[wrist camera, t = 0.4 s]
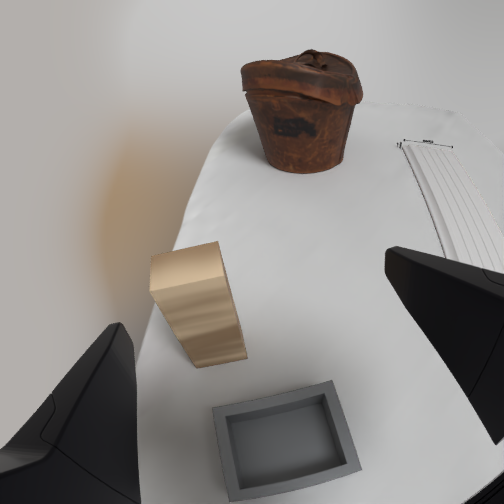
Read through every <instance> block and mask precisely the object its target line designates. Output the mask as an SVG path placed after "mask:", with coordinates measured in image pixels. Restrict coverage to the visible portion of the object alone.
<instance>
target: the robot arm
mask: <svg viewBox="0 0 504 504" xmlns="http://www.w3.org/2000/svg"><path fill="white" fill-rule="evenodd" d="M385 274H386V277H387V278H388V280H389V282H390V283H391V285H392V286H393V288H394V290H395V291H396V293H397V295H398V296H399V298H400V300H401V301H402V303H403V304H404V306H405V308H406V309H407V310H408V312H409V313H410V315H411V316H412V317H413V319H414V320H415V321H416V323H417V324H418V325H419V327H420V328H421V330H422V331H423V332H424V334H425V335H426V337H427V338H428V339H429V341H430V342H431V344H432V345H433V347H434V348H435V349H436V351H437V352H438V354H439V355H440V357H441V358H442V360H443V361H444V363H445V364H446V366H447V367H448V368H449V370H450V372H451V373H452V375H453V376H454V378H455V379H456V381H457V382H458V384H459V385H460V387H461V388H462V390H463V392H464V393H465V395H466V396H467V398H468V400H469V401H470V403H471V405H472V406H473V408H474V410H475V411H476V413H477V415H478V416H479V418H480V420H481V421H482V423H483V425H484V427H485V428H486V430H487V432H488V434H489V435H490V437H491V439H492V441H493V442H494V444H495V445H497V444H498V443H500V442H501V441H502V440H503V439H504V274H503V273H499V272H495V271H491V270H488V269H484V268H480V267H477V266H473V265H469V264H466V263H462V262H458V261H454V260H450V259H447V258H443V257H439V256H435V255H431V254H427V253H423V252H419V251H415V250H411V249H407V248H403V247H399V246H395V247H392V248H389V249H387V250H386V252H385ZM134 359H135V358H134V347H133V342H132V340H131V338H130V336H129V334H128V333H127V331H126V330H125V327H124V326H123V324H122V323H120V322H118V323H113V324H110V325H108V327H107V328H106V329H105V330H104V331H103V332H102V334H101V335H100V336H99V337H98V338H97V339H96V340H95V342H93V344H92V345H91V346H90V347H89V348H88V349H87V351H86V352H85V353H84V354H83V355H82V356H81V358H80V359H79V360H78V361H77V362H76V363H75V365H74V366H73V367H72V368H71V369H70V371H69V372H68V373H67V374H66V375H65V377H64V378H63V379H62V380H61V381H60V383H59V384H58V385H57V386H56V387H55V389H54V390H53V391H52V394H50V395H49V396H48V397H47V399H46V400H45V401H44V402H43V403H42V405H41V406H40V407H39V408H38V409H37V411H36V412H35V413H34V414H33V415H32V416H31V417H30V418H29V420H28V421H27V422H26V423H25V424H24V425H23V426H22V427H21V428H20V430H19V431H18V432H17V433H16V434H15V435H14V436H13V437H12V438H11V440H10V441H9V442H8V443H7V444H6V445H5V446H4V447H3V448H1V449H0V504H141V496H140V484H139V470H138V450H137V382H136V371H135V360H134ZM462 504H504V470H503V471H502V472H501V473H500V474H499V475H498V476H497V477H495V478H494V479H493V480H492V481H491V482H489V483H488V484H487V485H486V486H484V487H483V488H482V489H481V490H479V491H478V492H477V493H475V494H474V495H473V496H471V497H470V498H469V499H467V500H466V501H465V502H463V503H462Z"/></svg>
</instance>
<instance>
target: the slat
mask: <svg viewBox="0 0 504 504" xmlns="http://www.w3.org/2000/svg"><path fill="white" fill-rule="evenodd" d="M150 293H151V295H152V296H153V298H154V300H155V302H156V303H157V305H158V307H159V309H160V310H161V312H162V314H163V315H164V317H165V319H166V320H167V322H168V324H169V325H170V327H171V329H172V330H173V332H174V334H175V335H176V337H177V338H178V340H179V342H180V343H181V345H182V346H183V348H184V350H185V351H186V353H187V354H188V356H189V357H190V359H191V360H192V362H193V363H194V365H195V366H196V368H202V367H208V366H213V365H218V364H224V363H229V362H234V361H238V360H243V359H248V358H247V353H246V348H245V344H244V339H243V334H242V330H241V326H240V322H239V319H238V315H237V311H236V308H235V304H234V300H233V297H232V293H231V289H230V285H229V282H228V278H227V274H226V270H225V267H224V263H223V259H222V255H221V251H220V247H219V243H218V241H216V242H212V243H207V244H203V245H198V246H194V247H189V248H185V249H180V250H176V251H171V252H167V253H163V254H158V255H154V256H151V272H150Z"/></svg>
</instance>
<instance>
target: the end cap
mask: <svg viewBox="0 0 504 504" xmlns="http://www.w3.org/2000/svg"><path fill="white" fill-rule="evenodd" d="M212 410H213V416H214V422H215V428H216V434H217V440H218V446H219V451H220V457H221V462H222V468H223V473H224V478H225V483H226V488H227V493H228V498H229V502H234V501H241V500H248V499H254V498H260V497H265V496H271V495H276V494H280V493H285V492H289V491H294V490H298V489H302V488H306V487H310V486H313V485H317V484H320V483H324V482H327V481H331V480H334V479H337V478H340V477H343V476H346V475H349V474H352V473H355V472H358V471H360V470H362V468H361V465H360V462H359V458H358V455H357V452H356V449H355V446H354V443H353V440H352V437H351V434H350V431H349V428H348V425H347V422H346V419H345V416H344V413H343V410H342V407H341V404H340V401H339V398H338V395H337V393H336V390H335V387H334V384H333V381H332V380H330V381H327V382H324V383H320V384H317V385H313V386H309V387H306V388H302V389H298V390H295V391H291V392H287V393H283V394H278V395H274V396H270V397H266V398H261V399H256V400H252V401H247V402H242V403H237V404H231V405H226V406H220V407H214V408H212Z"/></svg>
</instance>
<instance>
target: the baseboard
mask: <svg viewBox="0 0 504 504" xmlns="http://www.w3.org/2000/svg"><path fill="white" fill-rule="evenodd" d="M404 141H405V139H404ZM406 141H409V140H406ZM424 141H427V140H423V142H421V143H424ZM414 142H417V141H414ZM427 142H430V143H429V144H431V141H430V140H429V141H427ZM432 143H433V141H432ZM401 144H402V142H400V146H401ZM435 145H437V144H435ZM397 146H398V143H397ZM442 146H444V145H442ZM448 147H450V146H448ZM452 148H453V146H452ZM402 149H403V151H404V153H405V155H406V157H407V159H408V161H409V164H410V166H411V168H412V170H413V172H414V175H415V177H416V179H417V182H418V184H419V186H420V189H421V191H422V193H423V196H424V198H425V201H426V203H427V206H428V209H429V211H430V214H431V216H432V219H433V222H434V225H435V227H436V230H437V233H438V236H439V239H440V242H441V245H442V248H443V251H444V254H445V258H447V259H450V260H454V261H458V262H462V263H466V264H469V265H473V266H477V267H480V268H484V269H488V270H491V271H495V272H499V273H503V274H504V236H503V234H502V232H501V230H500V228H499V226H498V224H497V223H496V221H495V219H494V217H493V215H492V213H491V211H490V210H489V208H488V206H487V204H486V202H485V201H484V199H483V197H482V196H481V194H480V192H479V191H478V189H477V187H476V186H475V184H474V182H473V181H472V179H471V178H470V176H469V175H468V173H467V171H466V170H465V168H464V167H463V165H462V164H461V162H460V161H459V160H458V158H457V157H456V155H455V154H454V152H453V151H451V150H444V149H436V148H428V147H421V146H413V145H408V146H406V147H402Z"/></svg>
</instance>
